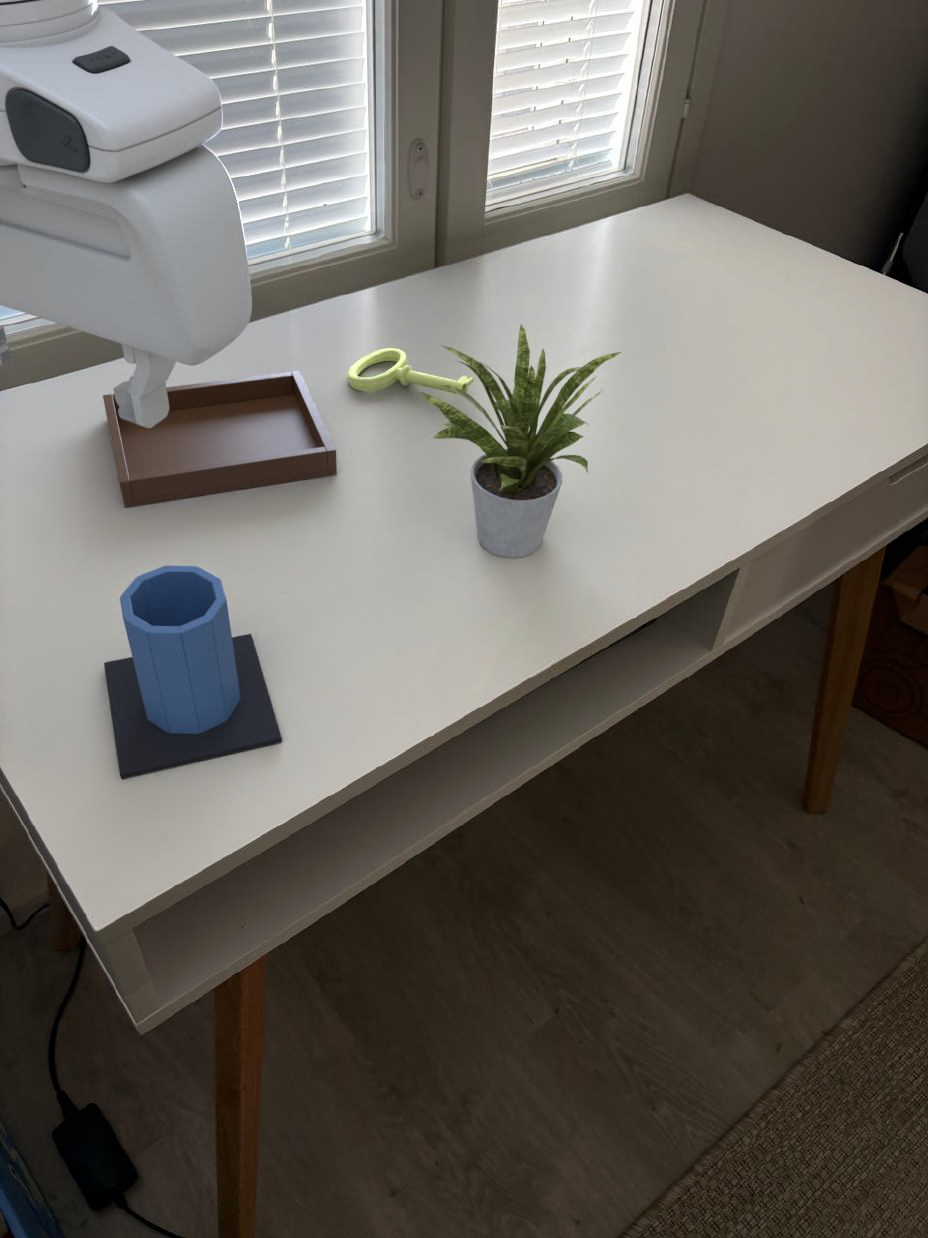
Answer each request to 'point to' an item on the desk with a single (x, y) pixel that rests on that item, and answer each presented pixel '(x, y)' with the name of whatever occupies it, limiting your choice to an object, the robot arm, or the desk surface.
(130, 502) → the tray
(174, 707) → the blue faceted tube
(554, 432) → the house plant
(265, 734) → the mat
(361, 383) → the key
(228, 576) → the desk surface
